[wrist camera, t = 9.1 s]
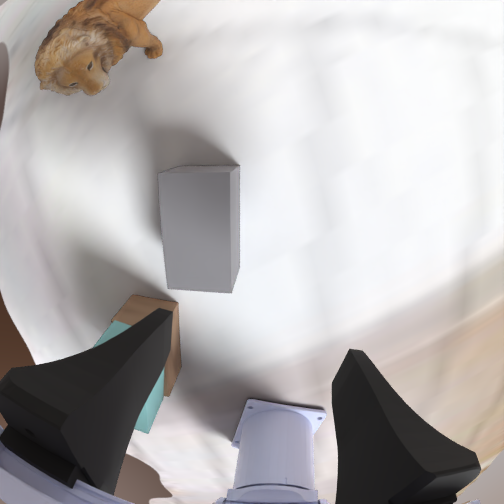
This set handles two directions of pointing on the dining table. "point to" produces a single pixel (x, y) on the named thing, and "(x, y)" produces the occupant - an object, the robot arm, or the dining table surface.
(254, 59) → the dining table surface
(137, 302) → the walnut brick
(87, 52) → the lion figurine
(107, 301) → the dining table surface
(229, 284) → the gray brick
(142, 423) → the teal brick
